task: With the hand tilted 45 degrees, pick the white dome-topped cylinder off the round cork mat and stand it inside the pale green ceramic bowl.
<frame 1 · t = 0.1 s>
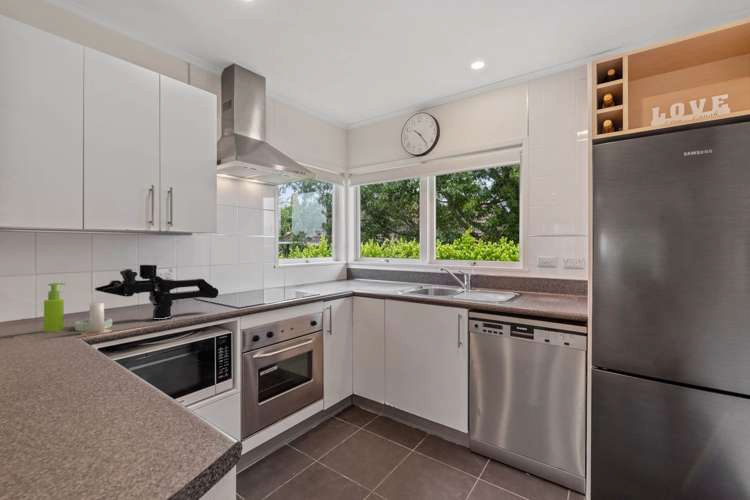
hand: (98, 289, 148), 17 cm above the countertop, tool horizontal, fingers open, 9 cm apart
cork mat: (96, 333, 138), on the countertop
soap dispenser: (55, 332, 142), on the countertop
white dome-topped cylinder: (96, 331, 138), point 1 cm above the countertop, touching cork mat
bowl: (93, 328, 146), on the countertop
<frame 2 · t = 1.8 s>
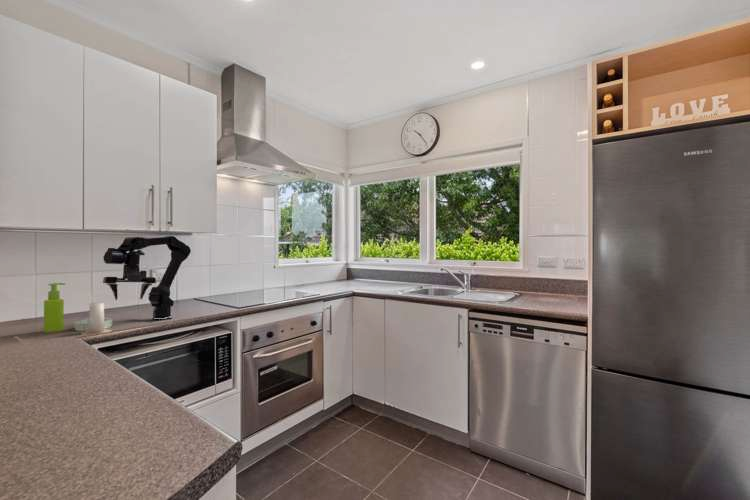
hand: (129, 299, 153), 12 cm above the countertop, tool pointing down, fingers open, 9 cm apart
nothing on the countertop moved.
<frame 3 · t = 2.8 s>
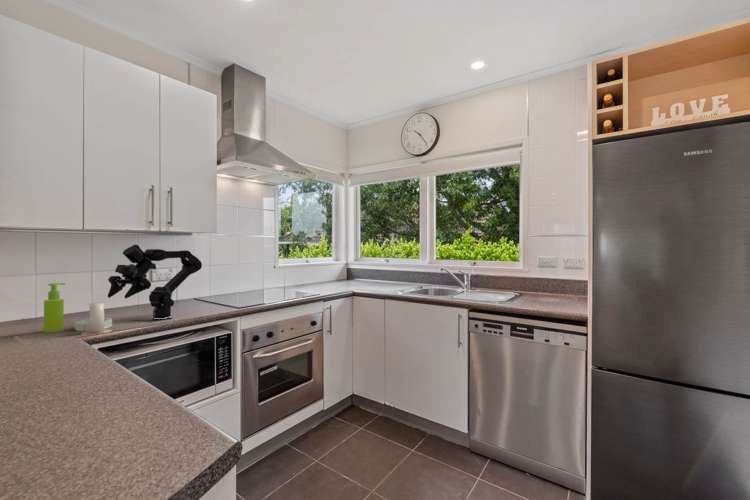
hand: (116, 297, 146), 13 cm above the countertop, tool tilted 45°, fingers open, 9 cm apart
nothing on the countertop moved.
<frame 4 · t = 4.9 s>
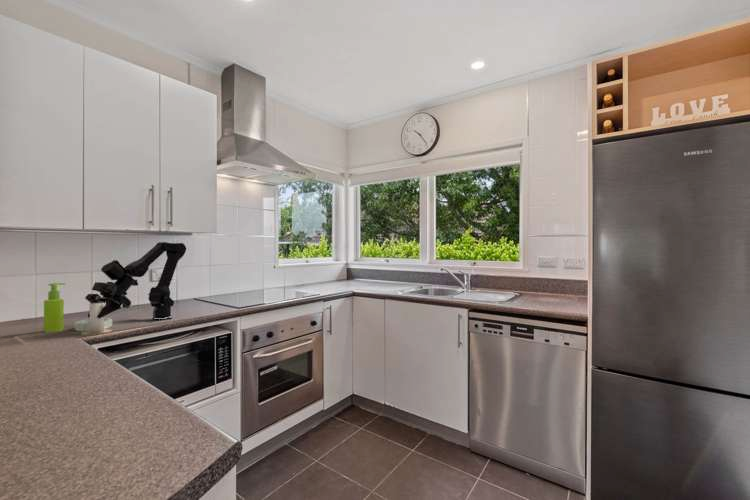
hand: (93, 317, 137), 7 cm above the countertop, tool tilted 45°, fingers closed on white dome-topped cylinder, 5 cm apart
white dome-topped cylinder: (96, 331, 138), point 1 cm above the countertop, touching cork mat, gripper
everything else where it was.
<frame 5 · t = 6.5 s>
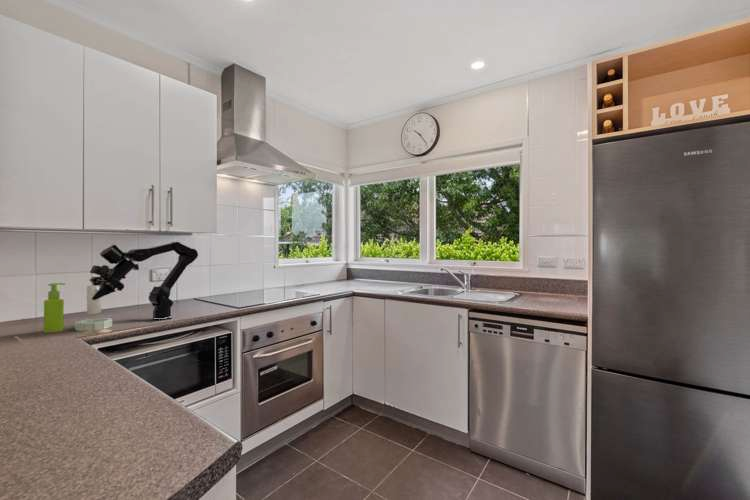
hand: (90, 299, 143), 13 cm above the countertop, tool tilted 45°, fingers closed on white dome-topped cylinder, 5 cm apart
white dome-topped cylinder: (94, 312, 144), point 7 cm above the countertop, touching gripper
everything else where it was.
when the fingers open (9 cm above the countertop, at t = 8.1 s): white dome-topped cylinder drops 2 cm, resting on bowl.
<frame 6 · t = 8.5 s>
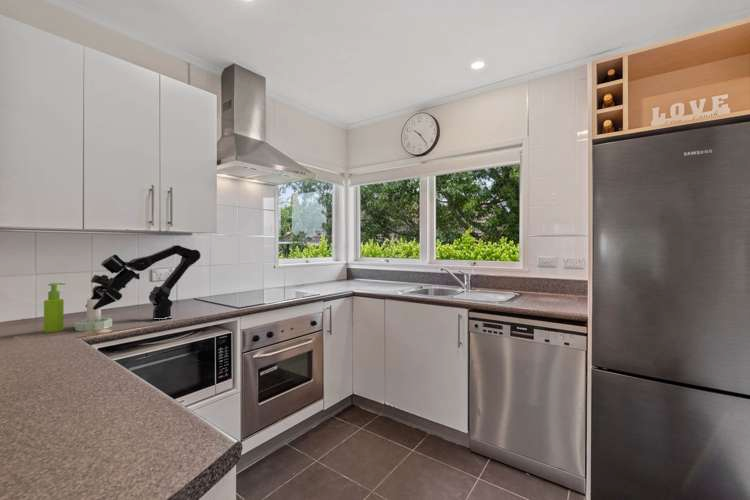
hand: (89, 308, 145), 9 cm above the countertop, tool tilted 45°, fingers open, 9 cm apart
white dome-topped cylinder: (94, 326, 146), point 1 cm above the countertop, touching bowl
everything else where it was.
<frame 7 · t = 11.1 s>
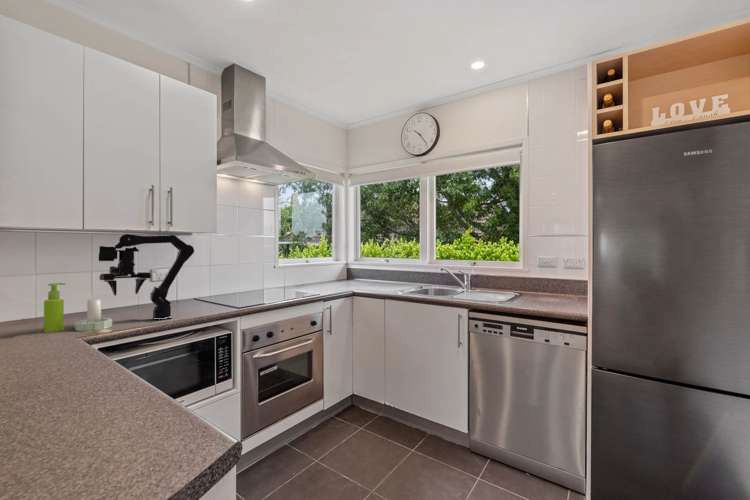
hand: (125, 294, 159), 13 cm above the countertop, tool pointing down, fingers open, 8 cm apart
nothing on the countertop moved.
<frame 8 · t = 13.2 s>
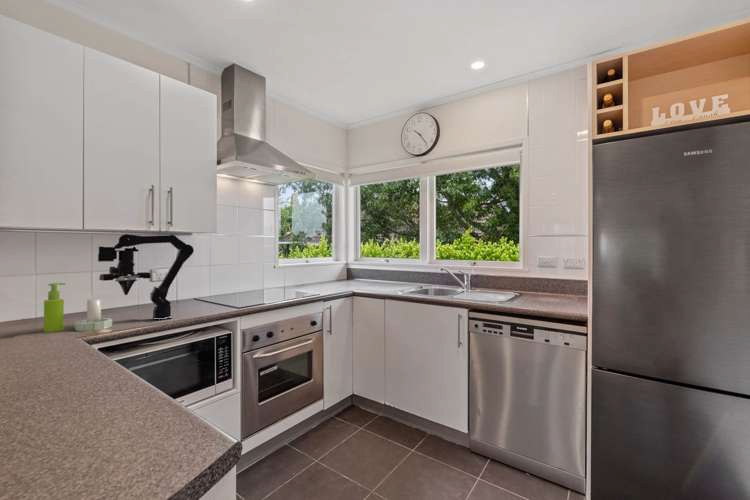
hand: (126, 294, 159), 13 cm above the countertop, tool pointing down, fingers closed
nothing on the countertop moved.
at the end: white dome-topped cylinder inside the target area on the bowl (0.1 cm from its centre), point 1.0 cm above the bowl's base; white dome-topped cylinder tilted 0°; the gripper is holding nothing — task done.
